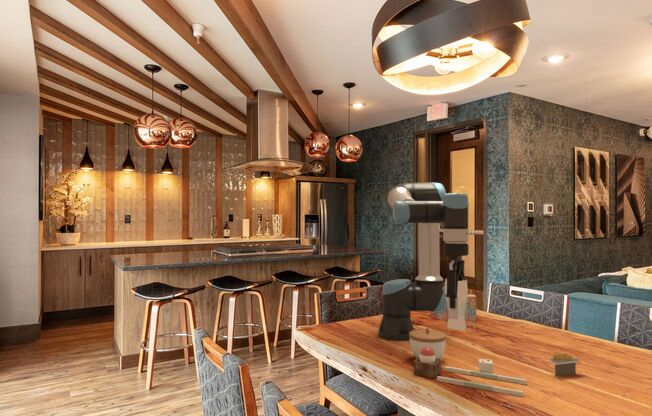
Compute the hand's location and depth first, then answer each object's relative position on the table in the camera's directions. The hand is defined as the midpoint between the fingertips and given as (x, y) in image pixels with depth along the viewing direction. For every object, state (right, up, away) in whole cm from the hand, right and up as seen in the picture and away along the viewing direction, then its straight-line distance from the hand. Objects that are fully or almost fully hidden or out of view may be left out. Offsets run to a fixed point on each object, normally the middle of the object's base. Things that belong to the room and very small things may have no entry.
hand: (456, 316), depth 135 cm
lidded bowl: (-5, -20, +17) cm, 26 cm away
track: (+6, -19, -4) cm, 20 cm away
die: (+11, -19, +4) cm, 22 cm away
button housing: (-8, -19, +4) cm, 21 cm away
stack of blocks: (+22, -21, +78) cm, 84 cm away
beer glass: (0, -4, 0) cm, 4 cm away
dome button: (-8, -18, +4) cm, 20 cm away
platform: (+35, -20, +3) cm, 40 cm away
